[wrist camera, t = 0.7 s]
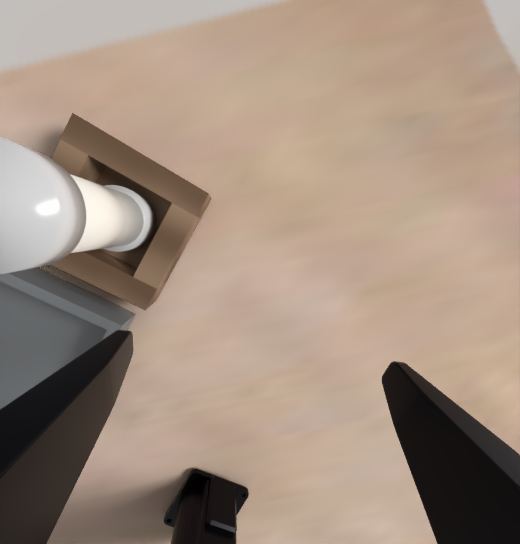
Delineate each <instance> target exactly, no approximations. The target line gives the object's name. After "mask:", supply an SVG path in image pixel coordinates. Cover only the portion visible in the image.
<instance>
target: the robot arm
mask: <svg viewBox="0 0 520 544" xmlns="http://www.w3.org/2000/svg"><path fill="white" fill-rule="evenodd" d="M132 354H133V336H132V332H131V331H126V330H117V331H115V332H113V333H112V334H110V335H109V336H107V337H106V338H104V339H103V340H101V341H100V342H99V343H97V344H96V345H94V346H93V347H91V348H90V349H88V350H87V351H85V352H84V353H82V354H81V355H79V356H78V357H76V358H75V359H74V360H72V361H71V362H69V363H68V364H66V365H65V366H63V367H62V368H60V369H59V370H57V371H56V372H54V373H53V374H51V375H50V376H48V377H47V378H46V379H44V380H43V381H41V382H40V383H38V384H37V385H35V386H34V387H32V388H31V389H29V390H28V391H26V392H25V393H23V394H22V395H21V396H19V397H18V398H16V399H15V400H13V401H12V402H10V403H9V404H7V405H6V406H4V407H3V408H1V409H0V544H46V543H47V541H48V539H49V537H50V535H51V533H52V531H53V529H54V527H55V525H56V523H57V521H58V519H59V517H60V515H61V513H62V511H63V508H64V506H65V504H66V502H67V500H68V498H69V496H70V494H71V492H72V490H73V488H74V486H75V484H76V482H77V480H78V478H79V476H80V474H81V472H82V470H83V468H84V466H85V464H86V462H87V460H88V458H89V456H90V453H91V451H92V449H93V447H94V445H95V443H96V441H97V439H98V437H99V435H100V433H101V431H102V429H103V427H104V425H105V423H106V421H107V419H108V417H109V415H110V413H111V411H112V408H113V406H114V404H115V401H116V399H117V396H118V394H119V391H120V388H121V385H122V383H123V380H124V377H125V374H126V372H127V369H128V366H129V363H130V361H131V358H132ZM382 384H383V388H384V392H385V395H386V399H387V403H388V406H389V410H390V414H391V417H392V421H393V424H394V427H395V430H396V433H397V436H398V438H399V441H400V444H401V447H402V449H403V452H404V455H405V457H406V460H407V463H408V465H409V468H410V471H411V474H412V476H413V479H414V482H415V484H416V487H417V490H418V492H419V495H420V498H421V500H422V503H423V506H424V509H425V511H426V514H427V517H428V519H429V522H430V525H431V527H432V530H433V533H434V536H435V538H436V541H437V544H520V455H519V454H518V453H517V452H516V451H515V450H513V449H512V448H511V447H510V446H508V445H507V444H506V443H505V442H503V441H502V440H501V439H500V438H498V437H497V436H496V435H495V434H493V433H492V432H491V431H490V430H488V429H487V428H486V427H485V426H483V425H482V424H481V423H480V422H478V421H477V420H476V419H475V418H473V417H472V416H471V415H470V414H468V413H467V412H466V411H464V410H463V409H462V408H461V407H459V406H458V405H457V404H456V403H454V402H453V401H452V400H451V399H449V398H448V397H447V396H446V395H444V394H443V393H442V392H441V391H439V390H438V389H437V388H436V387H434V386H433V385H432V384H431V383H429V382H428V381H427V380H426V379H424V378H423V377H422V376H421V375H419V374H418V373H417V372H416V371H414V370H413V369H412V368H411V367H409V366H408V365H407V364H405V363H403V362H396V361H394V362H391V363H390V365H389V366H388V368H387V369H386V371H385V373H384V374H383V376H382ZM195 475H196V476H195ZM243 493H244V494H243ZM248 495H249V494H248V489H247V488H246V487H243V486H240V485H238V484H235V483H233V482H230V481H227V480H225V479H222V478H219V477H217V476H214V475H211V474H209V473H206V472H204V471H201V470H198V469H194V470H192V471H191V472H190V474H189V476H188V478H187V479H186V481H185V483H184V484H183V486H182V488H181V489H180V491H179V493H178V494H177V496H176V498H175V499H174V501H173V503H172V505H171V506H170V508H169V510H168V511H167V513H166V515H165V518H164V523H165V524H166V525H169V526H172V527H174V530H173V535H172V540H171V544H236V530H237V523H236V515H237V514H238V512H239V510H240V509H241V507H242V506H243V504H244V502H245V501H246V499H247V498H248Z"/></svg>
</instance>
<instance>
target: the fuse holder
mask: <svg viewBox="0 0 520 544" xmlns="http://www.w3.org/2000/svg"><path fill="white" fill-rule="evenodd" d="M51 159H53V160H54V161H56V162H57V163H58V164H60V165H61V166H62V167H63V168H64V169H65V170H66V171H67V172H68V173H69V174H71V175H74V176H77V177H80V178H83V179H85V180H88V181H91V182H94V183H97V184H100V185H102V186H106V185H118V186H122V187H125V188H127V189H130V190H132V191H135V192H137V193H139V194H141V195H142V196H143V197H145V198H146V199H147V200H148V201H149V203H150V204H151V206H152V207H153V209H154V212H155V215H156V229H155V232H154V234H153V236H152V238H151V239H150V240H149V241H148V242H147V243H146V244H145V245H143V246H142V247H140V248H137V249H133V250H127V251H121V252H114V251H109V250H105V249H97V250H89V251H82V252H75V253H70V254H69V255H68V256H66V257H65V258H63V259H62V260H60V261H58V262H56V263H53V264H50V265H52V266H54V267H56V268H58V269H60V270H62V271H65V272H67V273H69V274H71V275H73V276H75V277H77V278H79V279H81V280H83V281H85V282H87V283H90V284H92V285H94V286H96V287H98V288H100V289H102V290H104V291H106V292H108V293H110V294H112V295H115V296H117V297H119V298H121V299H123V300H125V301H127V302H129V303H131V304H133V305H135V306H137V307H139V308H142V309H144V310H146V309H147V308H148V307H149V306H151V305H152V304H153V303H154V302H155V301H156V300H157V298H158V296H159V295H160V293H161V291H162V289H163V287H164V285H165V283H166V282H167V280H168V278H169V276H170V274H171V272H172V271H173V269H174V267H175V265H176V263H177V261H178V259H179V258H180V256H181V254H182V252H183V250H184V248H185V246H186V245H187V243H188V241H189V239H190V237H191V235H192V234H193V232H194V230H195V228H196V226H197V224H198V222H199V221H200V219H201V217H202V215H203V213H204V211H205V209H206V208H207V206H208V204H209V202H210V200H211V197H210V195H209V194H208V193H207V192H205V191H203V190H202V189H200V188H198V187H197V186H195V185H193V184H192V183H190V182H188V181H186V180H185V179H183V178H181V177H180V176H178V175H176V174H175V173H173V172H171V171H170V170H168V169H166V168H165V167H163V166H161V165H159V164H158V163H156V162H154V161H153V160H151V159H149V158H148V157H146V156H144V155H143V154H141V153H139V152H138V151H136V150H134V149H133V148H131V147H129V146H127V145H126V144H124V143H122V142H121V141H119V140H117V139H116V138H114V137H112V136H111V135H109V134H107V133H106V132H104V131H102V130H100V129H99V128H97V127H95V126H94V125H92V124H90V123H89V122H87V121H85V120H84V119H82V118H80V117H79V116H77V115H75V114H73V113H72V115H71V117H70V119H69V122H68V124H67V126H66V128H65V130H64V132H63V134H62V136H61V138H60V141H59V143H58V145H57V147H56V149H55V151H54V153H53V155H52V157H51Z"/></svg>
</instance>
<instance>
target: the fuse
mask: <svg viewBox="0 0 520 544" xmlns="http://www.w3.org/2000/svg"><path fill="white" fill-rule="evenodd" d="M155 229H156V215H155V212H154V209H153V207H152V206H151V204H150V203H149V201H148V200H147V199H146V198H145V197H143V196H142V195H141V194H139V193H137V192H135V191H132V190H130V189H127V188H125V187H122V186H118V185H106V186H102V185H100V184H97V183H94V182H91V181H88V180H85V179H83V178H80V177H77V176H74V175H71V174H69V173H68V172H67V171H66V170H65V169H64V168H63V167H62V166H61V165H60V164H58V163H57V162H56V161H54V160H53V159H51V158H49V157H48V156H46V155H43V154H41V153H39V152H37V151H34V150H32V149H29V148H27V147H24V146H22V145H19V144H17V143H14V142H12V141H10V140H7V139H5V138H2V137H0V274H5V273H10V272H16V271H21V270H26V269H32V268H37V267H42V266H47V265H50V264H53V263H56V262H58V261H60V260H62V259H63V258H65V257H66V256H68V255H69V254H70V253H75V252H82V251H89V250H97V249H105V250H109V251H114V252H121V251H127V250H133V249H137V248H140V247H142V246H143V245H145V244H146V243H147V242H148V241H149V240H150V239H151V238H152V236H153V234H154V232H155Z"/></svg>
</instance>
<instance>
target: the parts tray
mask: <svg viewBox="0 0 520 544" xmlns="http://www.w3.org/2000/svg"><path fill="white" fill-rule="evenodd" d="M134 316H135V314H134V313H132V312H130V311H128V310H126V309H124V308H121V307H119V306H117V305H115V304H113V303H111V302H109V301H107V300H105V299H102V298H100V297H98V296H96V295H94V294H92V293H90V292H88V291H86V290H83V289H81V288H79V287H77V286H75V285H73V284H71V283H69V282H67V281H65V280H62V279H60V278H58V277H56V276H54V275H52V274H50V273H48V272H46V271H43V270H41V269H39V268H32V269H26V270H21V271H16V272H10V273H5V274H0V409H1V408H3V407H4V406H6V405H7V404H9V403H10V402H12V401H13V400H15V399H16V398H18V397H19V396H21V395H22V394H23V393H25V392H26V391H28V390H29V389H31V388H32V387H34V386H35V385H37V384H38V383H40V382H41V381H43V380H44V379H46V378H47V377H48V376H50V375H51V374H53V373H54V372H56V371H57V370H59V369H60V368H62V367H63V366H65V365H66V364H68V363H69V362H71V361H72V360H74V359H75V358H76V357H78V356H79V355H81V354H82V353H84V352H85V351H87V350H88V349H90V348H91V347H93V346H94V345H96V344H97V343H99V342H100V341H101V340H103V339H104V338H106V337H107V336H109V335H110V334H112V333H113V332H115V331H117V330H126V331H127V329H128V327H129V325H130V323H131V321H132V320H133V318H134Z"/></svg>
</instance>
